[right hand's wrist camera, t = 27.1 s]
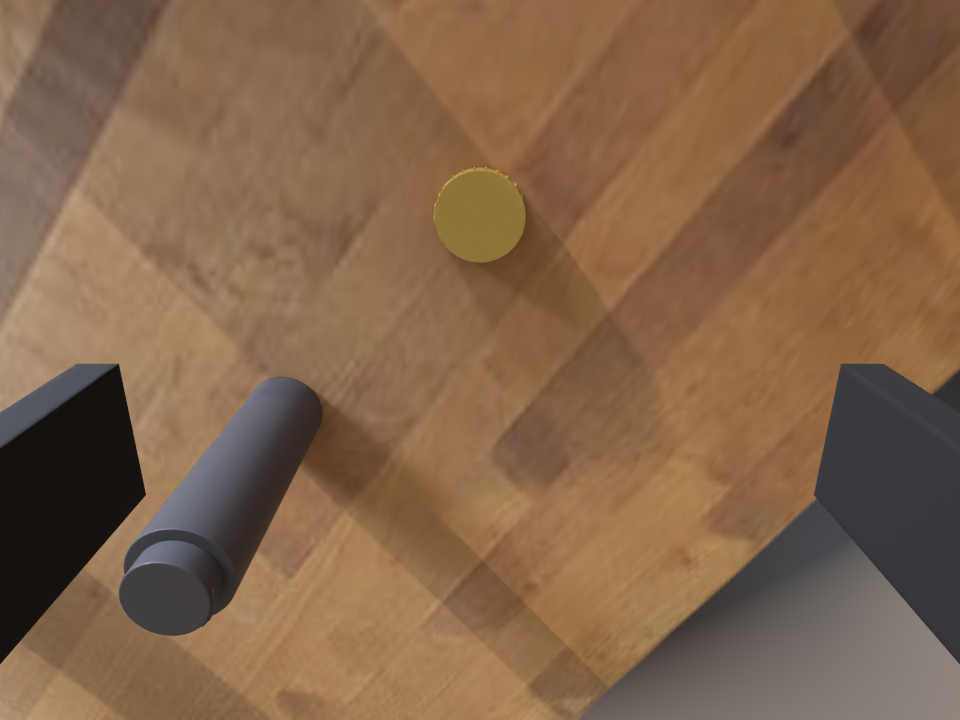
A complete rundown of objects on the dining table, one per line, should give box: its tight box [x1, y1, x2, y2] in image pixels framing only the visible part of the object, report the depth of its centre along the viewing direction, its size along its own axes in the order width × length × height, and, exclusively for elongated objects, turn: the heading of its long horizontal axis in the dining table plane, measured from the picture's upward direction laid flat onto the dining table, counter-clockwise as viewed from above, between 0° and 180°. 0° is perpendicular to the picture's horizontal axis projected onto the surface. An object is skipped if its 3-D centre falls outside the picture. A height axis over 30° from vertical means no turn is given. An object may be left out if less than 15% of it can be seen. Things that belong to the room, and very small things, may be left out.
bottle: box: [119, 377, 322, 636], centre depth 35 cm, size 5×5×18 cm
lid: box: [433, 166, 527, 263], centre depth 38 cm, size 5×5×2 cm
